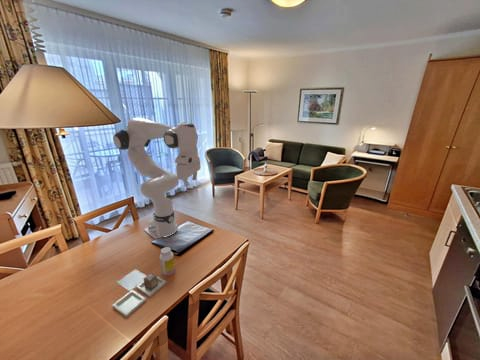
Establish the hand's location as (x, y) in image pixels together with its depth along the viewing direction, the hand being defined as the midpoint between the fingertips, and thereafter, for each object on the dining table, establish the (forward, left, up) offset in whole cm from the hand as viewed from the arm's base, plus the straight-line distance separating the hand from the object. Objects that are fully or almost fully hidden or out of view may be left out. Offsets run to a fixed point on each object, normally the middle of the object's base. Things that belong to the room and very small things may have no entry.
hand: (190, 182), depth 110 cm
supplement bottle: (-1, -19, -42) cm, 47 cm away
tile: (-11, -32, -42) cm, 54 cm away
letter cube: (0, -30, -42) cm, 51 cm away
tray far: (0, -41, -42) cm, 59 cm away
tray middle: (0, -30, -42) cm, 52 cm away
